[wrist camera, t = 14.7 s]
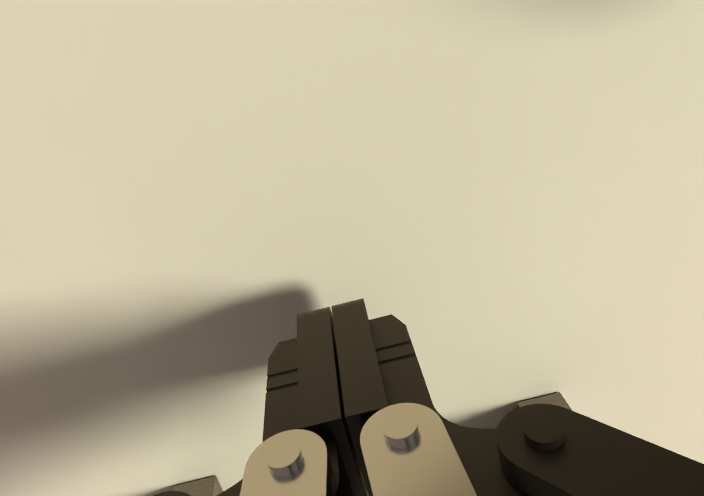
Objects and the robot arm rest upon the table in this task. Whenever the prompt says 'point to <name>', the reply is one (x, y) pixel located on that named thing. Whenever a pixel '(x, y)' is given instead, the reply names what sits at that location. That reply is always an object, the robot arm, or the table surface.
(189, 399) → the table surface
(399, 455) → the robot arm
